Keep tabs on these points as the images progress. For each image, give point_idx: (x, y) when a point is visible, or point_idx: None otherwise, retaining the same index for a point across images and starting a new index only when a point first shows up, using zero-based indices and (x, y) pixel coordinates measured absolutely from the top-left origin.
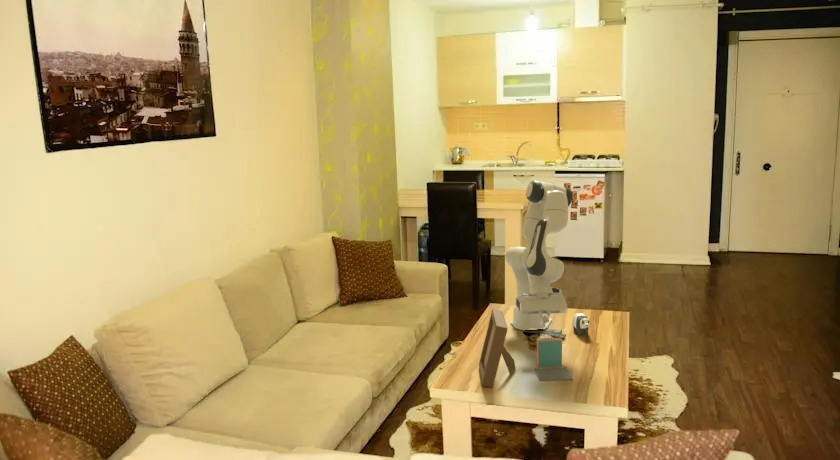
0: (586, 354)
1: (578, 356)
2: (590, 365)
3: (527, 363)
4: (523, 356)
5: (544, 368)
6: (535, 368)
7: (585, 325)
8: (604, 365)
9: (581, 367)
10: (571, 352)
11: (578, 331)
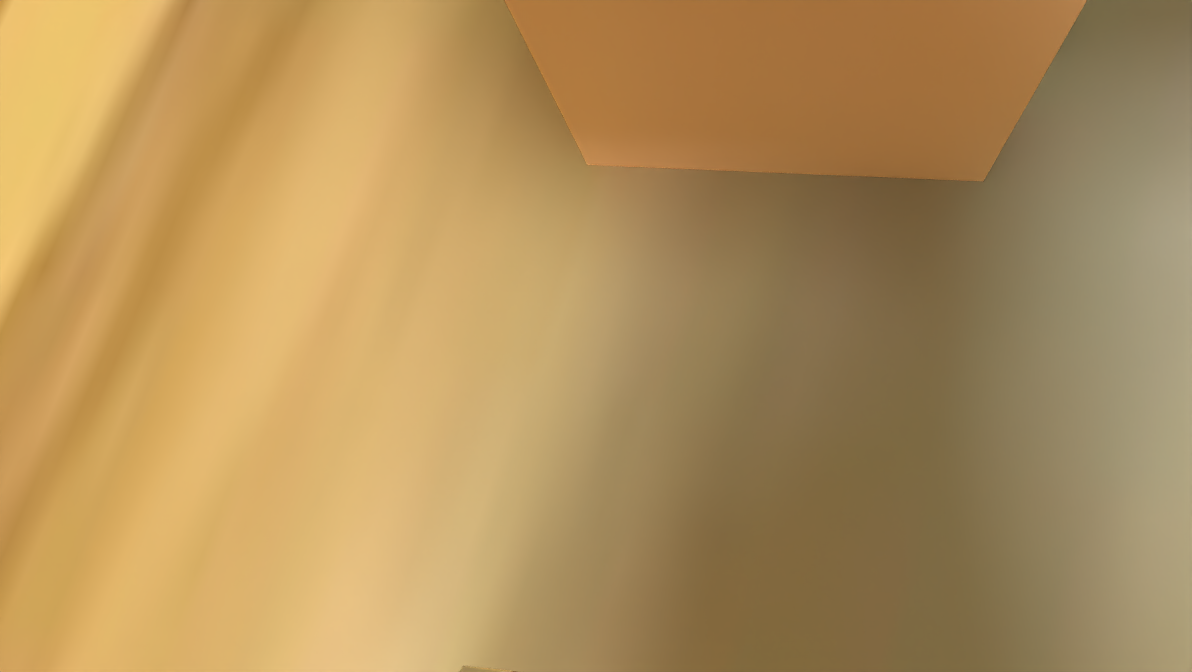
0: (61, 517)
1: (206, 458)
2: (187, 87)
3: (1130, 305)
4: (1142, 660)
5: None
6: None
7: None
8: (18, 64)
9: (332, 33)
10: (241, 659)
11: None
